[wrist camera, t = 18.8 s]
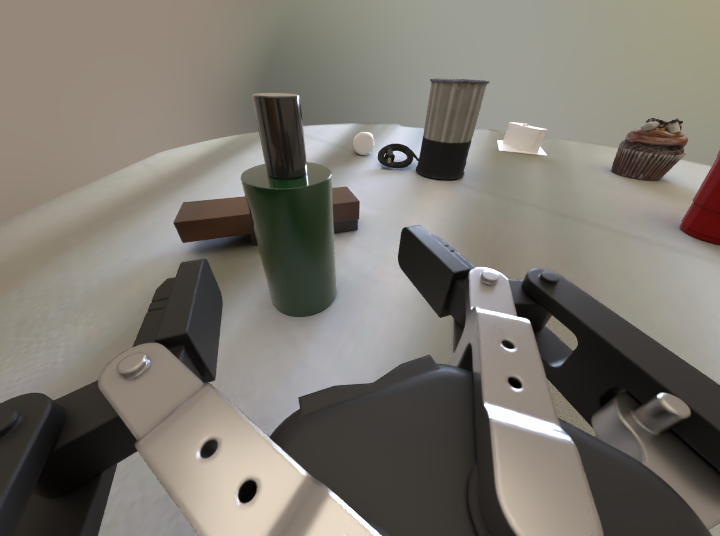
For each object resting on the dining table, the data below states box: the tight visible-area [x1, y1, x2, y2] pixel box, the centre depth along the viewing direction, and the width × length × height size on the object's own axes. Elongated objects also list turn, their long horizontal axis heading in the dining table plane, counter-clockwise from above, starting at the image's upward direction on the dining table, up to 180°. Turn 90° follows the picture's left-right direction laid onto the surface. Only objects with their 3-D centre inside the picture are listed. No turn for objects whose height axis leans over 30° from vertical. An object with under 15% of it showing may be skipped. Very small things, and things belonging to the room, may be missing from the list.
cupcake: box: [612, 118, 688, 180], centre depth 50 cm, size 10×10×10 cm
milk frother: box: [378, 79, 489, 180], centre depth 47 cm, size 14×16×15 cm
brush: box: [174, 187, 359, 245], centre depth 29 cm, size 18×5×4 cm, turn 109°
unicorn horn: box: [353, 132, 374, 155], centre depth 67 cm, size 5×24×5 cm, turn 171°
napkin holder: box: [497, 122, 547, 156], centre depth 69 cm, size 15×11×6 cm
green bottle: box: [241, 93, 336, 316], centre depth 17 cm, size 5×5×14 cm
